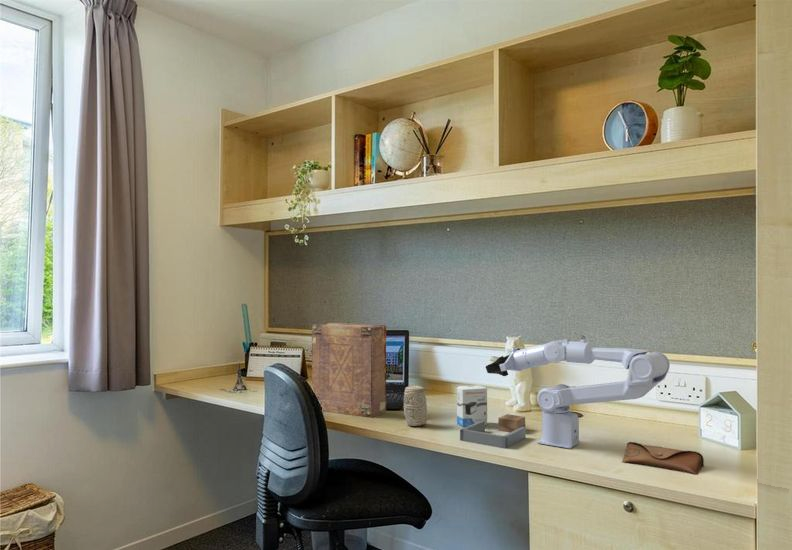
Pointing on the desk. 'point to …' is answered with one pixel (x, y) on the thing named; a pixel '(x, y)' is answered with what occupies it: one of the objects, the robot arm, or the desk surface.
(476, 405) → the ink box
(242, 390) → the eiffel tower figurine
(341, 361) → the book
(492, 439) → the box
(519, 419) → the brown wooden block
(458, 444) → the desk surface
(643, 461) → the sunglasses case
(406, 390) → the carving
